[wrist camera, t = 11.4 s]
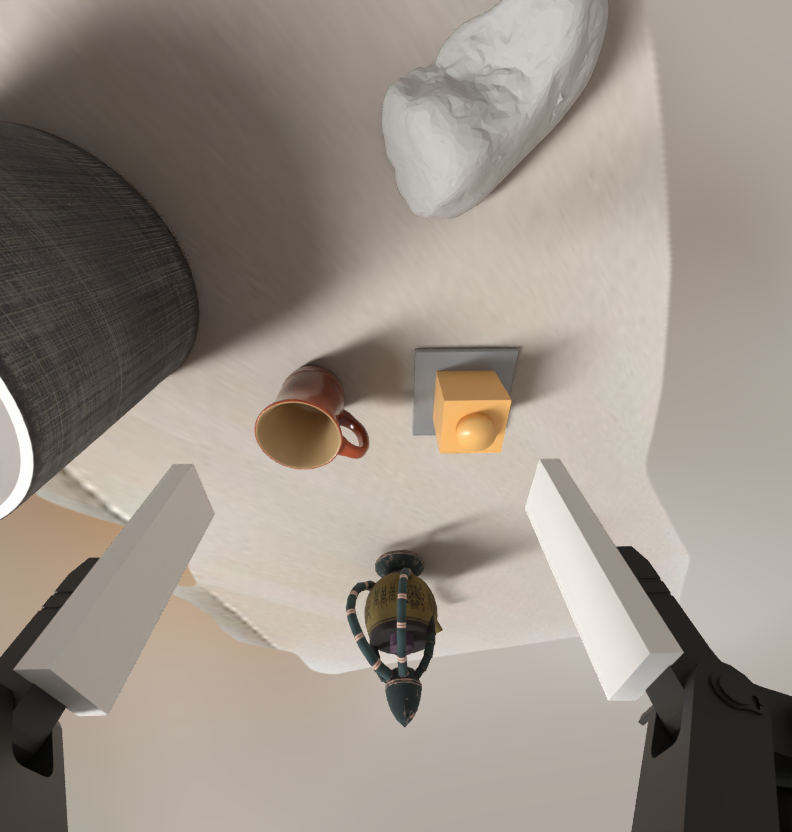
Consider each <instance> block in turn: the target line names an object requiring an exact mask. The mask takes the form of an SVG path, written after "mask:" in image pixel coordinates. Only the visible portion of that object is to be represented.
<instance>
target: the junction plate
mask: <svg viewBox="0 0 792 832" xmlns="http://www.w3.org/2000/svg"><path fill="white" fill-rule="evenodd" d="M518 352H519V351H518V350H517V349H516V348H484V349H415V379H414V409H413V436H415V435H436V432H435V427H434V422H433V411H434V397H435V382H436V371H488V370H494V371H495V373H496V374H497V376H498V378H499V379H500V381H501V383H502V384H503V386H504V388H505V390H506V391H507V393H508V395H510V390H511V385H512V381H513V376H514V371H515V366H516V361H517V356H518Z"/></svg>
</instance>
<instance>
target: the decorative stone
mask: <svg viewBox="0 0 792 832" xmlns="http://www.w3.org/2000/svg"><path fill="white" fill-rule="evenodd" d="M608 10H609V9H608V0H501V1H500V2H499V3H497V4H496V5H495V6H494V7H493V8H492V9H491V10H489V11H486V12H484V13H483V14H482V15H480V16H477V17H474V18H473V19H471V20H469V21H467V22H465V23H464V24H462V25H461V26H460V27H459V28H458V29H456V30H455V31H454V32H453V34H452V35H451V36H450V37H449V38H448V39H447V41H446V42H445V43H444V44H443V46H442V48H441V50H440V52H439V55H438V58H437V60H436V62H435V64H433V65H431V66H429V67H427V68H421V67H419V68H416V69H414V70H412V71H411V72H409V73H408V75H407V76H406V77H404V78H400V79H399V80H397V81H396V82H395V83H393V84H391V85H390V86H389V88H388V90H387V92H386V95H385V99H384V102H383V109H382V131H383V135H384V139H385V146H386V154H387V157H388V160H389V161H390V163H391V164H392V165H393V167H394V169H395V181H396V183H397V188H398V190H399V192H400V194H401V196H402V197H403V198H404V199H405V200H406V202H407V204H408V206H409V208H410V209H411V211H412V212H413V213H414V214H415V215H417V216H420V217H423V218H448V219H451V218H454V217H457V216H459V215H461V214H463V213H465V212H467V211H469V210H470V209H472V208H473V207H475V206H476V205H478V204H479V203H480V202H482V201H483V200H484V199H485V198H486V197H487V196H488V195H489V194H490V193H491V192H492V191H493V190H494V189H495V188H496V186H497V185H498V184H499V183H500V182H501V181H502V180H503V179H504V178H505V177H506V176H507V175H508V174H509V173H510V172H511V171H512V170H513V169H514V168H515V167H516V166H517V165H518V164H519V163H520V162H521V161H522V160H523V159H524V158H525V157H526V156H527V155H528V154H529V153H530V152H531V151H532V150H533V149H534V148H535V147H536V146H537V145H538V144H539V143H540V142H541V141H542V140H543V139H544V138H545V137H546V136H547V135H548V134H549V133H550V132H551V131H552V130H553V129H554V127H555V126H556V125H557V124H558V123H559V122H560V121H561V119H562V118H563V117H564V115H565V114H566V113H567V112H568V110H569V109H570V108H571V106H572V105H573V104H574V102H575V101H576V100H577V99H578V97H579V96H580V95H581V93H582V91H583V90H584V88H585V87H586V85H587V83H588V81H589V79H590V78H591V76H592V73H593V71H594V68H595V66H596V63H597V61H598V58H599V55H600V52H601V48H602V45H603V41H604V38H605V33H606V29H607V22H608Z"/></svg>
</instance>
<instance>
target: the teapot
mask: <svg viewBox="0 0 792 832" xmlns="http://www.w3.org/2000/svg"><path fill="white" fill-rule="evenodd" d="M423 569H424V563H423V561H422V559H421V557H419V556H418V555H417V554H415V553H412V552H409V551H403V550H400V551H392V552H387V553H385V554H383V555H381V556H380V557H379V558H378V559H377V561H376V563H375V571H376V572H377V574H378V575H379V576H380V577H382V578H381V579H380V580H379V581H378V582H376V583H375V582H373V581H367V582H361V583H357V584H356V585H355V586H354V587H353V589H352V590H351V592H350V594H349V596H348V599H347V605H346V612H347V618H348V622H349V625H350V627H351V630H352V633H353V635H354V637H355V640H356V642H357V644H358V646H359V648H360V650H361V651H362V653H363V654H364V656H365V658H366V659H367V661H368V662H369V664H370V665H371V666H372V667H373V668H374V671H375V672H376V673H377V675H378V676H379V678H380V680H381V681H382V682H385V683H386V687H385V688H386V690H385V691H386V696H387V701H388V704H389V707H390V710H391V711H392V713H393V715H394V716H395V718H396V719H397V721H398V722H400V723H401V724H402V725H403V726H404V727H406V726H407V725H408V724H409V723H410V721H411V720H412V719H413V717H414V715H415V713H416V712H417V710H418V706H419V702H420V697H421V691H422V686H421V685H422V684H421V683H420V681H419V678H420V677H421V675H422V673H424V671H426V669H427V667H428V664H429V662H430V660H431V658H432V656H433V649H434V645H435V635H436V633H438V632H441V631H442V630H443V629H442V627H441V626H440V624H439V623H438V621H437V606H436V602H435V598H434V595H433V594H432V592H431V590H430V588H429V587H428V586H427V584H426V583H425V582H424V581H423V580H422V579H420V578H419V577H417V576H419V575H420V574H421V573H422V571H423ZM365 590H369V591H370V593H369V595H368V597H367V601H366V606H365V624H366V628H367V632H368V635H369V638H370V645H369V644H368V642H367V640H366V638H365V636H364V634H363V632H362V629H361V627H360V625H359V622H358V619H357V616H356V611H355V604H356V599H357V597H358V594H359V593H360V592H361V591H365ZM423 649H425V650H424V656H423V658H422V660H421V662H420V664H419V667H418V668H417V669H416V670H415V671H414V669H412V668H409V667H407V655H408V654H411V653H415V652H418V651H421V650H423ZM378 650H380V651H382V652H386V653H390V654H395V655H397V657H398V667H397V668H395V669H393V670H391V669H389V668H388V667H387V666H386V665H385V664H383V663H382V661H381V660H380V655H379V652H378Z"/></svg>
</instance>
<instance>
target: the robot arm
mask: <svg viewBox="0 0 792 832" xmlns="http://www.w3.org/2000/svg"><path fill="white" fill-rule="evenodd" d="M525 510H526V512H527V515H528V517H529V519H530V522H531V524H532V526H533V529H534V531H535V533H536V535H537V538H538V540H539V542H540V545H541V547H542V549H543V552H544V554H545V556H546V558H547V561H548V563H549V565H550V568H551V570H552V572H553V575H554V577H555V579H556V582H557V584H558V586H559V588H560V591H561V593H562V595H563V598H564V600H565V602H566V605H567V607H568V609H569V611H570V614H571V616H572V618H573V621H574V623H575V625H576V628H577V630H578V632H579V635H580V637H581V639H582V641H583V644H584V646H585V648H586V651H587V653H588V655H589V658H590V660H591V662H592V665H593V667H594V669H595V671H596V674H597V676H598V678H599V680H600V683H601V685H602V688H603V690H604V692H605V694H606V697H607V699H608V701H625V700H637V699H638V698H639V697H640V696H641V695H642V694H643V693H644V692H645V691H646V692H647V694H648V696H649V698H650V700H651V702H652V704H653V705H652V706H651V707H650V708H649V709H648V710H647V711H646V712H645V713H643V714H642V716H641V718H640V720H639V723H640V724H642V725H644V724H646V723H647V722H648V728H647V734H646V741H645V747H644V754H643V760H642V766H641V773H640V780H639V786H638V792H637V799H636V805H635V812H634V818H633V825H632V831H631V832H792V696H789V695H786V694H782V693H779V692H776V691H773V690H770V689H767V688H763V687H761V686H758V685H756V684H753V683H752V682H751V681H750V680H749V679H748V678H747V677H746V676H745V675H744V674H742V673H741V672H739V671H738V670H736V669H735V668H734V667H732V666H731V665H728V664H725V663H723V662H721V661H720V660H719V659H718V658H717V656H716V655H715V654H714V653H713V651H712V650H711V649H710V648H709V646H708V645H707V643H706V642H705V640H704V639H703V638H702V636H701V635H700V633H699V632H698V631H697V629H696V628H695V626H694V625H693V623H692V622H691V621H690V619H689V618H688V616H687V615H686V614H685V612H684V611H683V609H682V608H681V606H680V605H679V604H678V602H677V601H676V599H675V598H674V597H673V596H671V594H670V591H669V589H668V588H667V587H666V585H665V584H664V582H663V581H661V580H660V577H659V575H658V574H657V572H656V571H655V570H654V568H653V567H652V565H651V564H650V563H649V561H648V560H647V559H646V558H644V557H643V556H642V555H641V554H640V553H639V552H637V551H636V550H635V549H634V548H633V547H632V546H621V547H616V546H615V545H614V543H613V541H612V540H611V538H610V537H609V535H608V534H607V532H606V531H605V529H604V527H603V526H602V524H601V523H600V521H599V520H598V518H597V517H596V515H595V513H594V512H593V510H592V509H591V507H590V506H589V504H588V503H587V501H586V499H585V498H584V496H583V495H582V493H581V492H580V490H579V489H578V487H577V485H576V484H575V482H574V481H573V479H572V478H571V476H570V474H569V473H568V471H567V470H566V468H565V467H564V465H563V464H562V462H561V460H560V459H539V463H538V466H537V469H536V473H535V476H534V480H533V483H532V486H531V490H530V493H529V496H528V500H527V503H526V507H525ZM213 516H214V511H213V509H212V507H211V504H210V502H209V500H208V497H207V495H206V492H205V490H204V488H203V485H202V483H201V481H200V478H199V476H198V474H197V471H196V469H195V466H194V464H173V465H172V466H171V468H170V469H169V470H168V471H167V473H166V474H165V475H164V477H163V478H162V479H161V480H160V482H159V483H158V484H157V486H156V487H155V488H154V489H153V491H152V492H151V493H150V495H149V496H148V497H147V498H146V500H145V501H144V502H143V504H142V505H141V506H140V507H139V509H138V510H137V511H136V513H135V514H134V515H133V516H132V518H131V519H130V520H129V522H128V523H127V524H126V525H125V527H124V528H123V529H122V531H121V532H120V533H119V534H118V536H117V537H116V538H115V540H114V541H113V542H112V543H111V545H110V546H109V547H108V548H107V550H106V551H105V552H104V554H103V555H102V556H101V557H100V558H88V559H87V560H86V561H85V562H84V563H82V564H81V565H80V566H78V567H77V568H76V569H75V570H74V571H72V572H71V573H70V574H69V575H68V576H67V577H66V579H65V580H64V581H63V582H62V583H61V584H60V586H59V587H58V588H57V589H56V591H55V594H54V595H53V596H51V597H50V598H49V599H48V600H47V601H46V603H45V604H44V605H43V606H42V610H41V611H38V612H37V614H36V615H35V616H34V617H33V618H32V620H31V621H30V622H29V623H28V624H27V626H26V627H25V628H24V629H23V630H22V632H21V633H20V634H19V636H17V638H16V639H15V640H14V641H13V643H12V644H11V645H10V646H9V648H8V649H7V650H6V651H5V652H4V653H3V655H2V656H1V657H0V832H68V826H67V809H66V793H65V774H64V757H63V740H62V728H61V726H60V723H59V722H58V720H59V718H60V716H61V715H62V713H63V711H64V710H65V708H67V709H69V710H70V711H72V712H73V713H74V714H76V715H77V716H96V715H108V714H109V712H110V710H111V708H112V706H113V704H114V703H115V701H116V699H117V697H118V695H119V693H120V691H121V689H122V687H123V686H124V684H125V682H126V680H127V678H128V676H129V674H130V672H131V671H132V669H133V667H134V665H135V663H136V661H137V659H138V657H139V655H140V654H141V652H142V650H143V648H144V646H145V644H146V642H147V640H148V639H149V637H150V635H151V632H152V631H153V629H154V627H155V625H156V624H157V622H158V620H159V618H160V616H161V614H162V612H163V610H164V608H165V607H166V605H167V603H168V601H169V599H170V597H171V595H172V593H173V592H174V590H175V588H176V586H177V584H178V582H179V580H180V578H181V576H182V574H183V573H184V571H185V569H186V567H187V565H188V563H189V561H190V560H191V558H192V556H193V554H194V552H195V550H196V548H197V546H198V544H199V543H200V541H201V539H202V537H203V535H204V533H205V531H206V529H207V527H208V526H209V524H210V522H211V520H212V518H213Z"/></svg>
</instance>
